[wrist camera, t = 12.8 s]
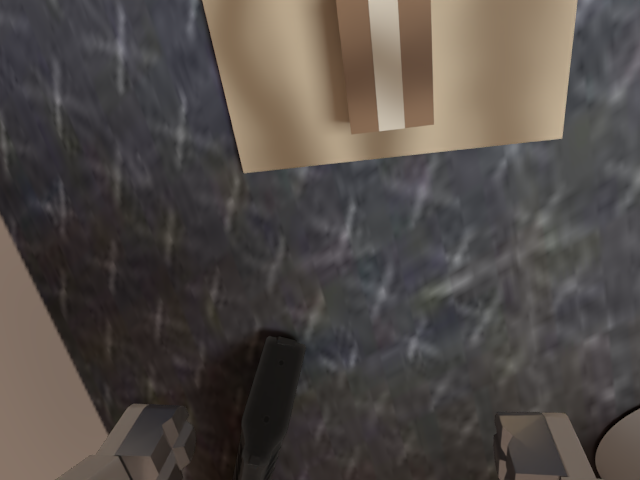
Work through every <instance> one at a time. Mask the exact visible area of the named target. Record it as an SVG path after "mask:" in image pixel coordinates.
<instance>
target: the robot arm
mask: <svg viewBox="0 0 640 480" xmlns="http://www.w3.org/2000/svg"><path fill="white" fill-rule="evenodd" d="M188 416H189V414H188V412H187V409H186V407H185V406H175V405H155V404H132V405H131V406H129V407H128V408H127V409H126V411H125V412H124V414H123V415H122V416H121V418H120V419H119V421H118V422H117V424H116V425H115V427H114V428H113V430H112V431H111V433H110V434H109V436H108V437H107V439H106V440H105V442H104V443H103V445H102V446H101V448H100V449H99V450H98V452H97V453H96V455H90V456H88V457H87V458H85V459H84V460H83V461H81V462H80V463H79V464H77V465H76V466H74V467H73V468H71V469H70V470H69V471H67V472H66V473H64V474H63V475H61V476H60V477H59V478H57V479H56V480H182V479H183V476H182V472H181V470H182V469H183V468H184V467H185V466H186V465H188V464H189V463H190V461H191V459H192V457H193V454H194V451H195V445H196V432H195V430H194V427H193V426H192V425H191V424H190V423H189V422H187V421H186V420H187V418H188ZM495 426H496V430H497V433H496V434H495V435H494V443H493V447H494V459H495V464H496V469H497V474H498V478H499V479H500V480H640V409H638V410H636V411H634V412H633V413H631V414H629V415H628V416H626V417H624V418H623V419H622V420H620V421H619V422H618V423H616V424H615V425H614V426H613V427H612V428H611V429H610V430H609V431H608V432H607V433H606V435H605V436H604V437H603V439H602V440H601V442H600V444H599V446H598V448H597V452H596V457H595V463H596V468H597V471H598V473H599V475H600V477H601V478H602V479H596V477H595V474H594V472H593V470H592V468H591V466H590V463H589V461H588V459H587V457H586V455H585V453H584V450H583V448H582V446H581V444H580V442H579V439H578V437H577V435H576V433H575V431H574V429H573V426H572V424H571V422H570V420H569V418H568V416H567V415H566V414H565V413H540V412H496V415H495Z"/></svg>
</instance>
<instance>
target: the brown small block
mask: <svg viewBox="0 0 640 480" xmlns="http://www.w3.org/2000/svg"><path fill="white" fill-rule="evenodd" d="M336 5H337V14H338V23H339V32H340V40H341V49H342V58H343V67H344V75H345V84H346V93H347V102H348V110H349V119H350V128H351V135H352V134H361V133H369V132H377V131H387V130H395V129H404V128H411V127H419V126H427V125H434V103H433V64H432V25H431V0H336Z"/></svg>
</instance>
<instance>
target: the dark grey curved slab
mask: <svg viewBox="0 0 640 480" xmlns="http://www.w3.org/2000/svg"><path fill="white" fill-rule="evenodd" d="M305 349H306V347H305V345H303V344H300V343H296V340H292V339H288V338H284V337H280V336H278V338H276V337H272V336H269V337H267V338H266V342H265V345H264V348H263V352H262V355H261V358H260V361H259V365H258V368H257V371H256V374H255V378H254V381H253V384H252V388H251V391H250V394H249V397H248V401H247V404H246V407H245V410H244V414H243V417H242V425H241V428H242V432H241V435H240V444H239V447H238V455H237V458H236V465H235V470H234V473H233V480H271V477H272V474H273V471H274V468H275V463H276V460H277V458H278V453H279V450H280V448H281V444H282V441H283V438H284V437H285V435H286V433H287V430H288V425H289V421H290V416H291V412H292V407H293V403H294V398H295V394H296V389H297V385H298V380H299V376H300V372H301V367H302V363H303V358H304V354H305Z"/></svg>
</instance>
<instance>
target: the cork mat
mask: <svg viewBox="0 0 640 480" xmlns="http://www.w3.org/2000/svg"><path fill="white" fill-rule="evenodd" d="M202 1H203V5H204V10H205V14H206V18H207V22H208V26H209V30H210V35H211V39H212V43H213V47H214V51H215V56H216V60H217V64H218V68H219V72H220V76H221V81H222V85H223V89H224V93H225V97H226V101H227V106H228V110H229V114H230V118H231V122H232V127H233V131H234V135H235V139H236V143H237V147H238V152H239V156H240V160H241V164H242V168H243V173H250V172H259V171H269V170H278V169H287V168H296V167H305V166H314V165H324V164H333V163H342V162H351V161H360V160H369V159H379V158H388V157H397V156H406V155H415V154H424V153H434V152H443V151H452V150H461V149H470V148H479V147H489V146H498V145H507V144H516V143H525V142H534V141H544V140H553V139H562V135H563V126H564V116H565V107H566V98H567V89H568V80H569V71H570V62H571V53H572V44H573V35H574V26H575V17H576V8H577V0H431V25H432V64H433V103H434V125H427V126H419V127H411V128H404V129H395V130H387V131H377V132H369V133H361V134H352V135H351V128H350V119H349V110H348V102H347V93H346V84H345V75H344V67H343V58H342V49H341V40H340V32H339V23H338V14H337V5H336V0H202Z"/></svg>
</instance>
